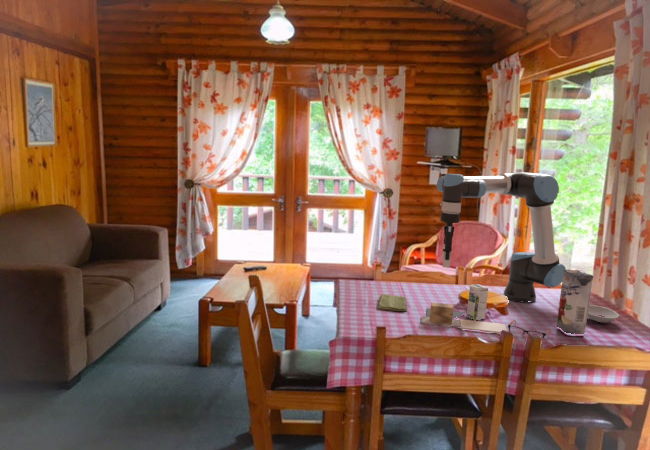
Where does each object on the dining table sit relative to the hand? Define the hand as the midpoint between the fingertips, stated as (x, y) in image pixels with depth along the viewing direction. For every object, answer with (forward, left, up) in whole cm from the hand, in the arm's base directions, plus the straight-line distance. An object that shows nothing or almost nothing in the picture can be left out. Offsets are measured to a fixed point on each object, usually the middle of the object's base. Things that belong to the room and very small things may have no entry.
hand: (445, 263), depth 210 cm
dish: (-68, -25, -26) cm, 77 cm away
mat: (-2, -11, -25) cm, 28 cm away
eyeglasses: (-35, 0, -26) cm, 44 cm away
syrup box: (-15, -11, -26) cm, 32 cm away
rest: (-17, +1, -25) cm, 31 cm away
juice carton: (-52, -6, -26) cm, 58 cm away
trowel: (0, 0, -26) cm, 26 cm away
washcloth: (+21, -16, -26) cm, 37 cm away
